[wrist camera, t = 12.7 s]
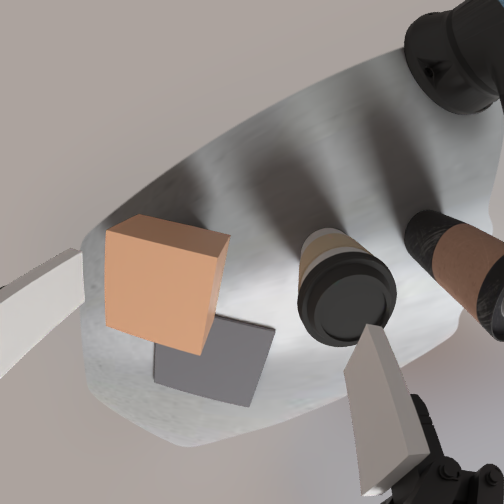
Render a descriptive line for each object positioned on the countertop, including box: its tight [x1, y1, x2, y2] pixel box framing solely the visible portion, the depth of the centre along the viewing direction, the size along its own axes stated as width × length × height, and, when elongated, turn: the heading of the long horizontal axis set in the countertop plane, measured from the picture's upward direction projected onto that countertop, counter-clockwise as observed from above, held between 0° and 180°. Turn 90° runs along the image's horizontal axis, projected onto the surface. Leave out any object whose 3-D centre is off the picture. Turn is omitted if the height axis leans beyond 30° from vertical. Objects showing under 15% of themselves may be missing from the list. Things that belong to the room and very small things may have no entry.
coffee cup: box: [297, 228, 397, 347], centre depth 29 cm, size 9×9×15 cm
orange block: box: [105, 214, 231, 356], centre depth 29 cm, size 11×11×7 cm
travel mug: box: [405, 210, 504, 342], centre depth 25 cm, size 8×8×20 cm
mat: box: [154, 315, 275, 407], centre depth 43 cm, size 17×17×1 cm
